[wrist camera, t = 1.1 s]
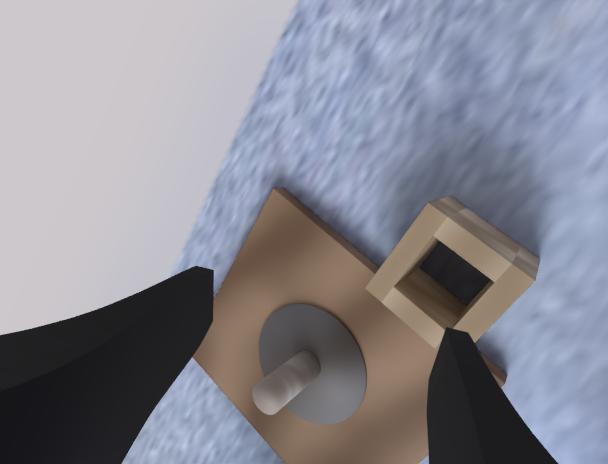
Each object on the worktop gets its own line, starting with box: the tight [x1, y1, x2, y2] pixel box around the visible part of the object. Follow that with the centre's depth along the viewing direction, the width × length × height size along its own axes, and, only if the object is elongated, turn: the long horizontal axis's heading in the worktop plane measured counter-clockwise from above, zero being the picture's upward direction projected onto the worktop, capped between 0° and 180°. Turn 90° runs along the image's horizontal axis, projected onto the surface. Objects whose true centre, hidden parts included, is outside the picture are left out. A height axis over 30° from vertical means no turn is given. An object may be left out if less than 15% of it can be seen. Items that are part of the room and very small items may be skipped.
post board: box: [192, 187, 507, 464], centre depth 24 cm, size 16×15×6 cm
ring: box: [365, 196, 540, 351], centre depth 19 cm, size 5×5×4 cm
